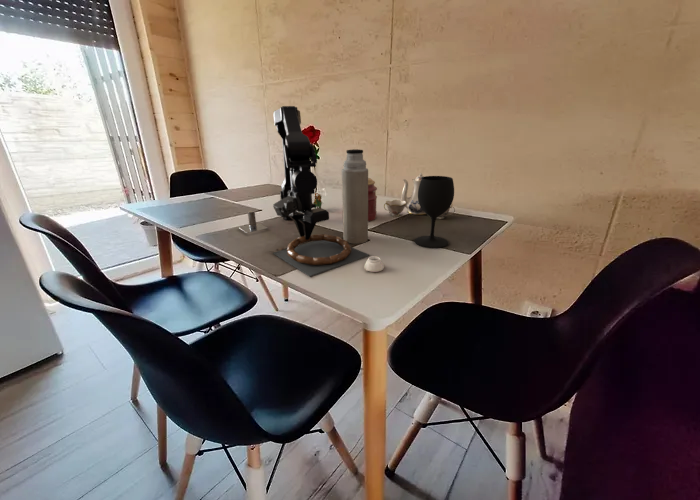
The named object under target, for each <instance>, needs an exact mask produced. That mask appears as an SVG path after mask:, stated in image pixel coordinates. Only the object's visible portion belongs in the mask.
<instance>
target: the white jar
mask: <svg viewBox="0 0 700 500" xmlns="http://www.w3.org/2000/svg"><path fill="white" fill-rule="evenodd" d="M384 268H385V265H384V263H383V262H382V260H381V258H380V257H379V256H376V255H374V256H373V255H371V256H368V257H367V260H366V261H365V263H364V265H363V269H364V270H365V271H367V272H371V273H378V272H382V271H383V270H384Z"/></svg>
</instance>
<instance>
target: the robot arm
mask: <svg viewBox="0 0 700 500" xmlns="http://www.w3.org/2000/svg"><path fill="white" fill-rule="evenodd" d="M272 119H273V125H274V127H276V132H277V133H278V135H279V136H280V138H281V145H282V157H283V158H282V159H283V170H284V171H283V172H284V179H283V181H282V183H281V185H280V186H281V187H280V191H279V200H278V201H277V202H274V204H273V205H272V207H273V209H274V210H275V213H276V215H277V217H278V216H280V217H281V218H282V219H283V221H286V222H289V221H293V223H294V224H295V227H296V229H297V232H298V233H299V234H298V235H299V237H303V236H305V239H306V240H308V239H309V238H310V236H311V235H313V231H314V229H315V227H316V225H317V223H321V222H325V221H329V220H330V212H329V211H328V210H327V209H325V208H322V207H321V208H319V207H318V208H317V207H316V209H315V204H313V203H314V202H313V195H315V193H316V192H315V190H316V188H317V186H318V179H317V176H316V175H315V174H314V172H312V170H311V168H315V167H317V164H318V158H317V153H316V150H315V147H314V145H313V144H312V143H311V142H310V138H309V136H308V135H306V134H304V133H303V131H302V127H301V124H302V118H301V110H299V109H298V107H297V106H295V105H282V106H280V107H279V108H278V109H277V110H274V111H273V117H272Z"/></svg>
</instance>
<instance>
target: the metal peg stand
mask: <svg viewBox="0 0 700 500" xmlns="http://www.w3.org/2000/svg"><path fill="white" fill-rule="evenodd" d="M255 211H256V210H248V211H247V219H248V225H244V226H237V227H238V229H240V230H241V231H243V232H244V233H246V234H249V233H253V232H257V231H258V232H259V231H261V230H266V229H269V227H268V226H266V225H264V224H262V223H260V222H258V223H257V219H256V212H255Z"/></svg>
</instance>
